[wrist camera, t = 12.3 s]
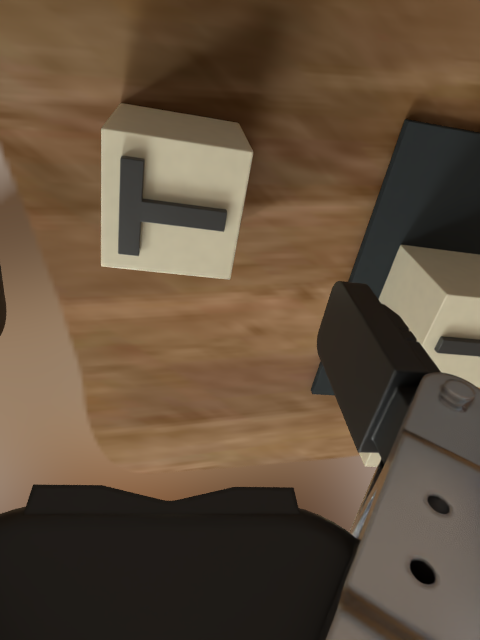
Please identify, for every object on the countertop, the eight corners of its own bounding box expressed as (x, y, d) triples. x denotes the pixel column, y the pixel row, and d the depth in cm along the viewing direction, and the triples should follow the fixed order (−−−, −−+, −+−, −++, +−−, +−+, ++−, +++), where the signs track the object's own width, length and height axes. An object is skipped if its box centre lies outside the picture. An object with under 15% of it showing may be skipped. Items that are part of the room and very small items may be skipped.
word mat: (404, 118, 18) (408, 120, 18) (570, 149, 20) (576, 151, 19) (310, 389, 26) (312, 394, 26) (432, 397, 28) (435, 401, 27)
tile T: (119, 102, 17) (99, 128, 13) (239, 122, 18) (255, 154, 14) (117, 217, 19) (99, 270, 15) (221, 230, 20) (231, 284, 16)
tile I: (400, 243, 21) (451, 297, 17) (486, 254, 22) (553, 308, 18) (368, 323, 23) (406, 387, 19) (446, 330, 24) (498, 393, 20)
